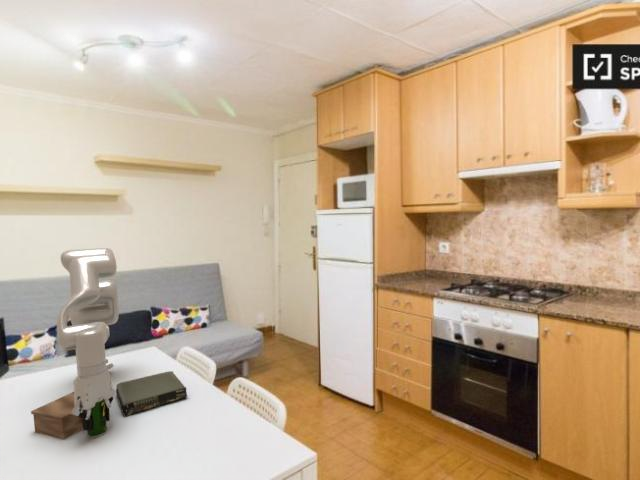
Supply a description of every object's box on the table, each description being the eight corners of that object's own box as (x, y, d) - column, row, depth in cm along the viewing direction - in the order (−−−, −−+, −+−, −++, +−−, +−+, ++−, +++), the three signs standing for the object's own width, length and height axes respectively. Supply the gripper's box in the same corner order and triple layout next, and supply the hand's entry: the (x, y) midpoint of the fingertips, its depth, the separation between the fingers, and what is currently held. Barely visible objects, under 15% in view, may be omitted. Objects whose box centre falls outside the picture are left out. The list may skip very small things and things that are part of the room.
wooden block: (79, 408, 141) (77, 389, 140) (108, 414, 136) (106, 394, 135) (32, 432, 126) (30, 411, 126) (63, 440, 121) (61, 418, 121)
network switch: (126, 421, 132) (125, 406, 132) (108, 398, 150) (107, 385, 149) (193, 397, 147) (193, 384, 147) (170, 379, 165) (169, 367, 164)
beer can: (88, 440, 120) (85, 402, 120) (87, 432, 125) (84, 395, 124) (108, 434, 123) (105, 397, 122) (106, 427, 128) (103, 390, 127)
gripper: (107, 357, 132) (111, 410, 133) (56, 378, 116) (61, 438, 117) (124, 359, 129) (128, 413, 130) (75, 381, 113) (80, 442, 114)
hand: (96, 424), depth 124 cm, fingers closed on beer can, 5 cm apart
